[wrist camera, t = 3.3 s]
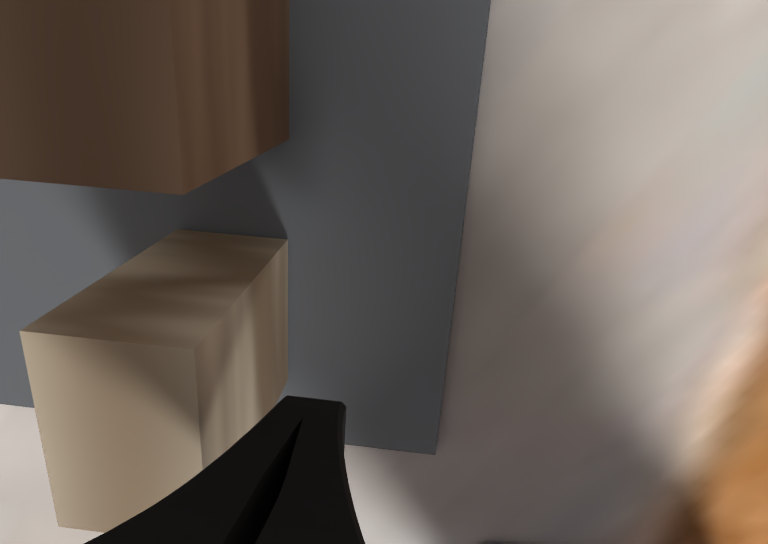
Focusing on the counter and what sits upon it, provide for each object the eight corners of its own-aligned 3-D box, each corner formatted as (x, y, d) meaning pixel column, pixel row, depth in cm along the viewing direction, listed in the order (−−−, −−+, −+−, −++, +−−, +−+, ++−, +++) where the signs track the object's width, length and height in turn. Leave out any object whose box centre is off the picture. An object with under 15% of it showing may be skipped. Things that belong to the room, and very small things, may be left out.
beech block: (289, 238, 17) (193, 349, 10) (288, 377, 19) (207, 546, 12) (179, 228, 17) (19, 330, 11) (189, 366, 19) (58, 526, 13)
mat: (498, -69, 14) (499, -73, 13) (435, 447, 20) (435, 454, 19) (-131, -103, 15) (-145, -107, 15) (-14, 395, 21) (-22, 401, 20)
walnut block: (289, -61, 14) (158, -164, 8) (289, 139, 16) (182, 194, 9) (156, -68, 14) (-82, -175, 8) (171, 130, 16) (-11, 177, 10)
